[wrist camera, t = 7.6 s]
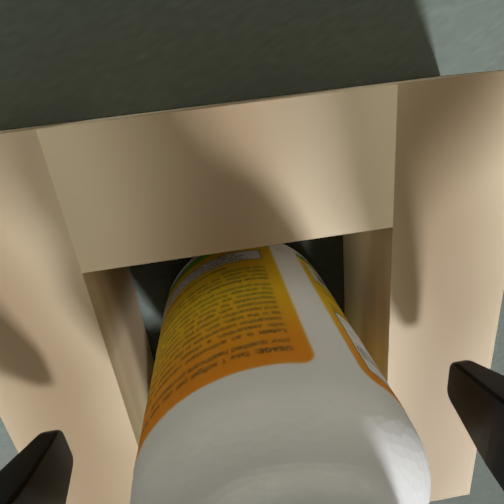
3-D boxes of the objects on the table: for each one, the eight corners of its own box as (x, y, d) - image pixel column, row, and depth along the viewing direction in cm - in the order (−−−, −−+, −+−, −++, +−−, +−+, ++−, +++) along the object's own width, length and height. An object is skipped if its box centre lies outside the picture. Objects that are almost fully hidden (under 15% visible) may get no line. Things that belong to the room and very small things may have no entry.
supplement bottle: (146, 347, 13) (17, 872, 4) (199, 208, 12) (171, 592, 3) (283, 384, 14) (406, 845, 6) (348, 264, 13) (675, 646, 4)
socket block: (441, 75, 11) (540, 66, 8) (415, 413, 16) (469, 494, 13) (-24, 133, 10) (-133, 150, 7) (105, 469, 15) (77, 569, 12)
